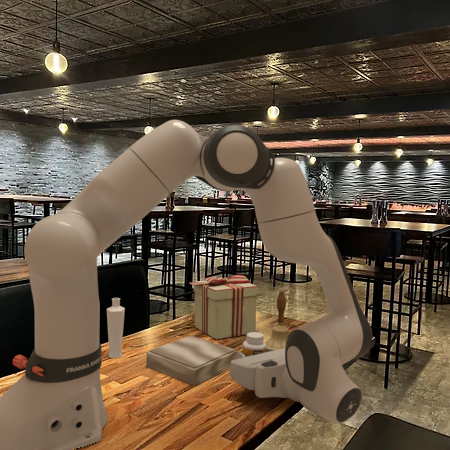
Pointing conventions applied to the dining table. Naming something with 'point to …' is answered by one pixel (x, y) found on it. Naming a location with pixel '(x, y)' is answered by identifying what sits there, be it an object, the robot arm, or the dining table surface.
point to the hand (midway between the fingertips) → (251, 352)
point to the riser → (191, 359)
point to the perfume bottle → (115, 328)
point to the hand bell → (279, 326)
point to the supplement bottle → (254, 344)
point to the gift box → (225, 306)
